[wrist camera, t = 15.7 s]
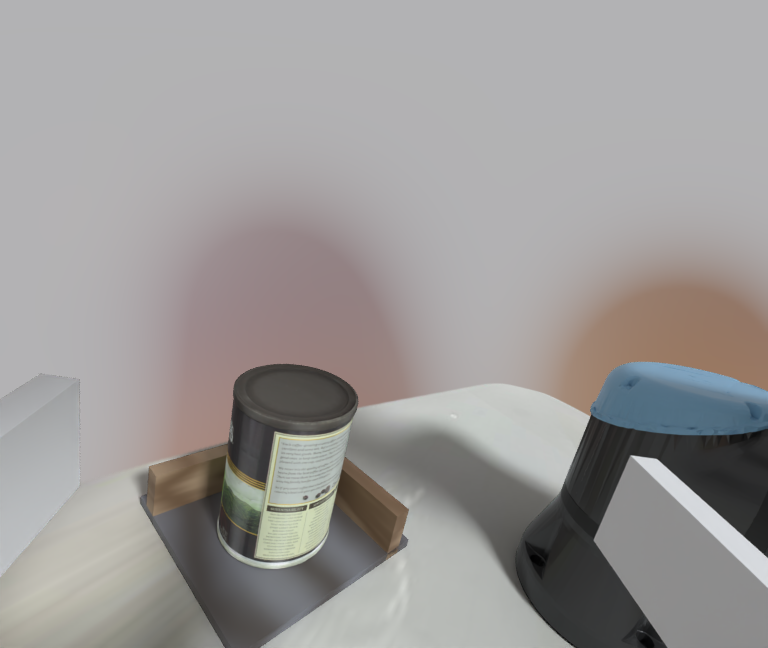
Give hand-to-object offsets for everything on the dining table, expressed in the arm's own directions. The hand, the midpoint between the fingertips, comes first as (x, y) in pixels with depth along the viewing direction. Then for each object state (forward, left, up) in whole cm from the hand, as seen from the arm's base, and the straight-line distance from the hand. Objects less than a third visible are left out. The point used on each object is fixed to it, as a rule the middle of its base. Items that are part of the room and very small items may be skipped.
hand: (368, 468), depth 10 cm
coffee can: (-14, -20, -25) cm, 35 cm away
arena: (-14, -20, -26) cm, 36 cm away
